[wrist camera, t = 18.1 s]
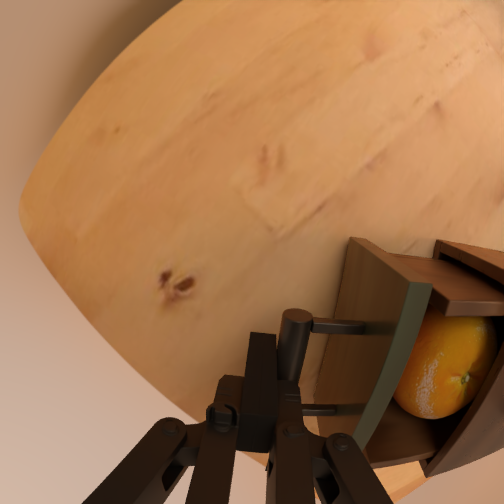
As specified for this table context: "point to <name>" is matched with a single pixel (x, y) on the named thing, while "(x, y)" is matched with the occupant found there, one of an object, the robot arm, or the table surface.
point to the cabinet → (493, 390)
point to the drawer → (383, 347)
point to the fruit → (447, 364)
